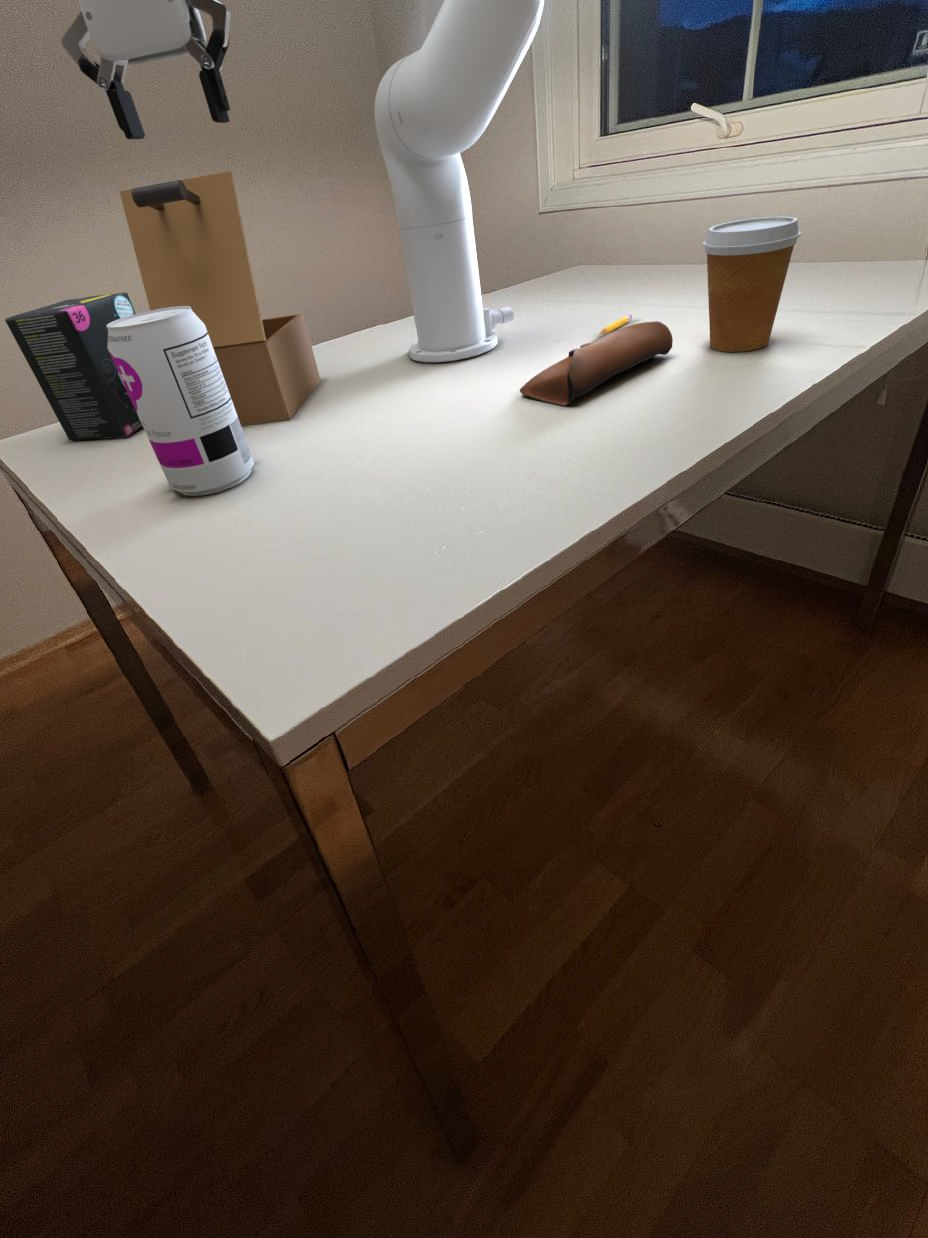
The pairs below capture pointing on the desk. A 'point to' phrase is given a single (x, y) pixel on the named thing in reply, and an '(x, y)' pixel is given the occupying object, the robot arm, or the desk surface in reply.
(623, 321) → the pencil
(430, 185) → the robot arm
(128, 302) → the tampon box
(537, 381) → the sunglasses case
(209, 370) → the supplement can
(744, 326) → the disposable coffee cup
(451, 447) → the desk surface
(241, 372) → the carton
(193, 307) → the flap
